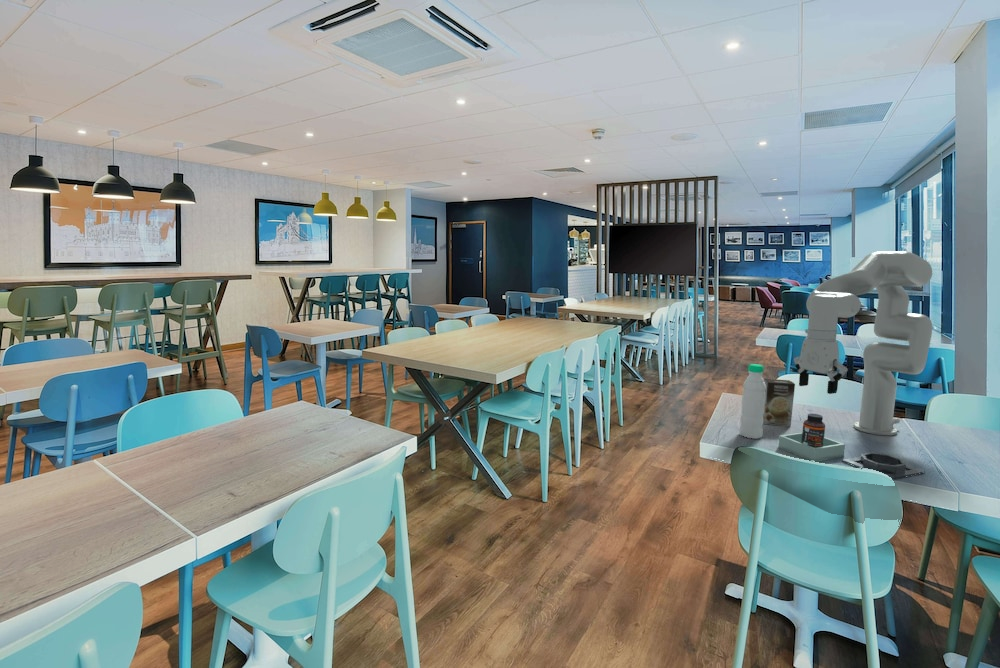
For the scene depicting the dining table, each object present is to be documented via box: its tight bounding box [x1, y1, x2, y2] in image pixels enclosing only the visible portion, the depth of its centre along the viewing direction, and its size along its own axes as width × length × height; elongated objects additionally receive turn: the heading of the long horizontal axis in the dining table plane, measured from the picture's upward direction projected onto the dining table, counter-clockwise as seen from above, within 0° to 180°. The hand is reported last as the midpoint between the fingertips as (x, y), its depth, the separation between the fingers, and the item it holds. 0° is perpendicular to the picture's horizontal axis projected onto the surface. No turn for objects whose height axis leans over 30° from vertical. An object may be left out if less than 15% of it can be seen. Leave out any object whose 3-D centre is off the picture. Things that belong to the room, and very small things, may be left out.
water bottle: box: [739, 363, 766, 440], centre depth 176 cm, size 7×7×25 cm
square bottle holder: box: [841, 452, 925, 481], centre depth 151 cm, size 14×14×2 cm
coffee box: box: [763, 378, 796, 427], centre depth 191 cm, size 9×6×16 cm
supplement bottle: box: [801, 413, 826, 448], centre depth 162 cm, size 6×6×11 cm
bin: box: [778, 431, 846, 462], centre depth 163 cm, size 13×13×4 cm
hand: (817, 389), depth 160 cm, fingers open, 9 cm apart
